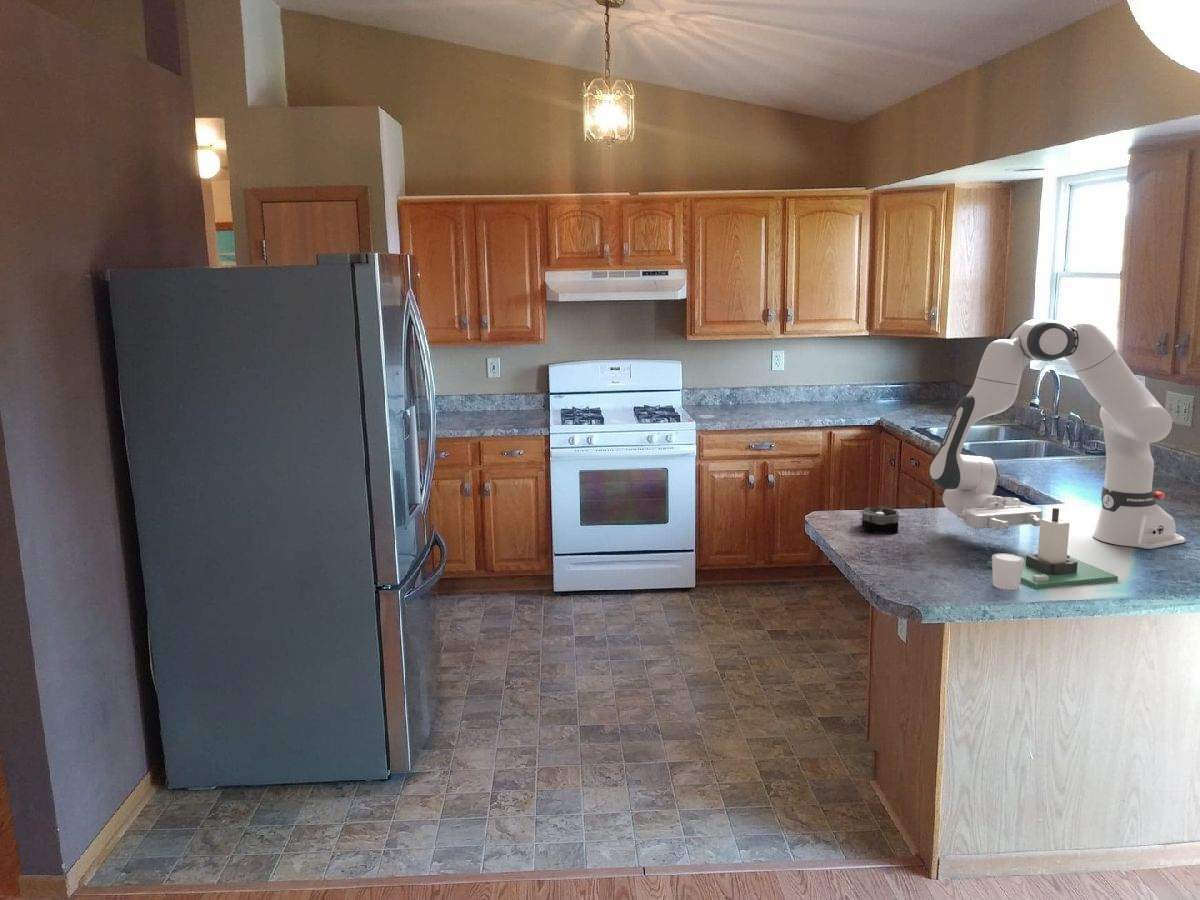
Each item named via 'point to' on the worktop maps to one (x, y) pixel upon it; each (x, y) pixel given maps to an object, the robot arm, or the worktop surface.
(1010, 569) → the white cup
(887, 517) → the cpu cooler
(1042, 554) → the plug
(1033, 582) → the circuit board
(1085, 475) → the worktop surface
